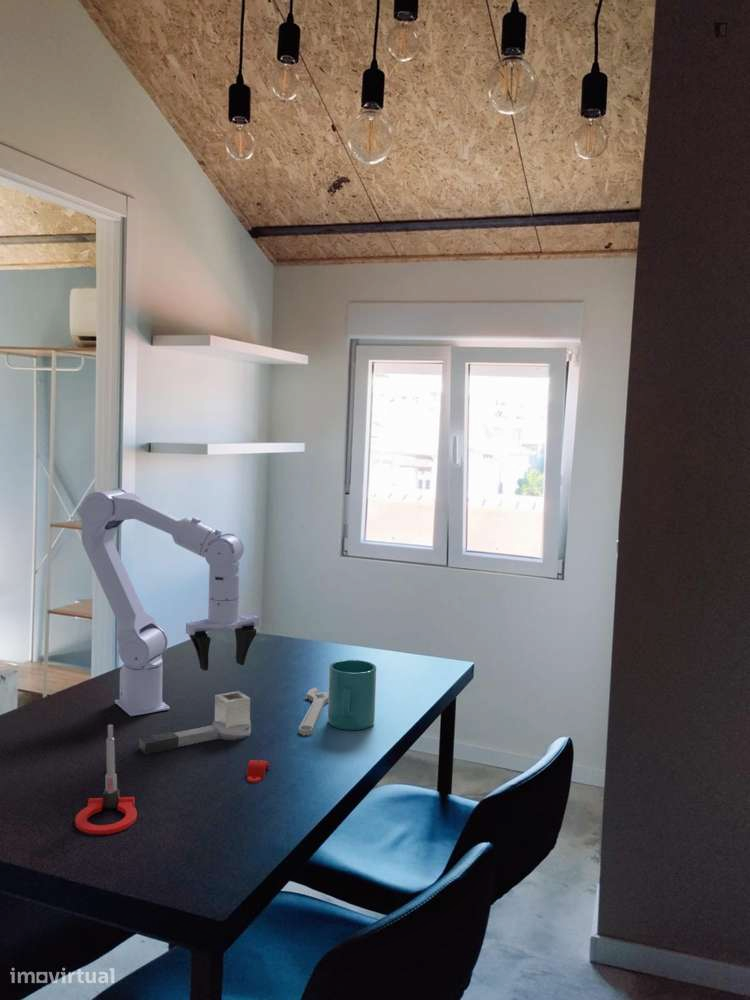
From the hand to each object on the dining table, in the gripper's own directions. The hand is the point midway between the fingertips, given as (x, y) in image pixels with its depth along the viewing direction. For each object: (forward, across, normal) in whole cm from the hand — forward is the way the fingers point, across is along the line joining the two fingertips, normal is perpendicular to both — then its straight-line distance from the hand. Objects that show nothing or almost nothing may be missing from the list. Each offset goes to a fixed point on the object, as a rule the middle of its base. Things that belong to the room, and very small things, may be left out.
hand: (222, 666), depth 165 cm
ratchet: (+10, -9, -10) cm, 16 cm away
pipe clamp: (+10, -6, -28) cm, 30 cm away
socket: (+8, -2, -10) cm, 13 cm away
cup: (+10, +19, -17) cm, 27 cm away
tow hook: (+10, -32, -31) cm, 46 cm away
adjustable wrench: (+10, +17, -7) cm, 21 cm away
